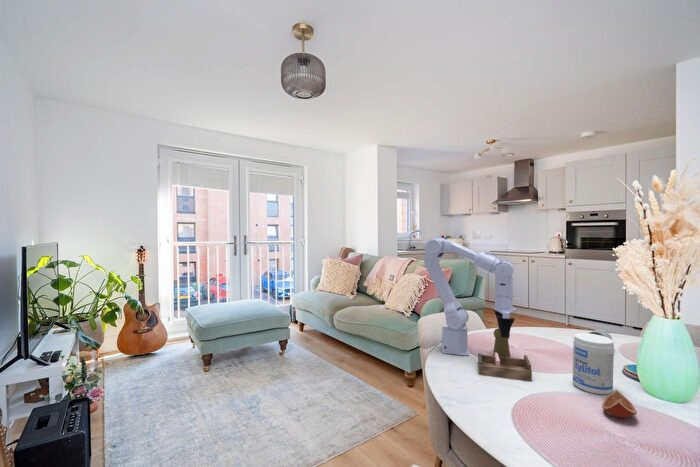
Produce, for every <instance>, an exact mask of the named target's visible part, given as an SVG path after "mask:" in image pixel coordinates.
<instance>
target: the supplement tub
mask: <svg viewBox="0 0 700 467" xmlns="http://www.w3.org/2000/svg"><path fill="white" fill-rule="evenodd" d="M572 346H573V347H572V348H573V352H572V354H573V355H572V383H573V384H574V386H576V387H577V388H578V389H581V391H584V392H588V393H591V394H596V395H609V394H611V393H612V392H614V391H613V390H614V367H615V366H614V360H615V359H614V356H615V345H614V340H613V339H612V340H611V339H610V338H607V337H604V336H601V335H596V334H589V332H579V333H575V334H574V338H573V345H572Z"/></svg>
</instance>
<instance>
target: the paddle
mask: <svg viewBox="0 0 700 467" xmlns="http://www.w3.org/2000/svg"><path fill="white" fill-rule="evenodd" d="M495 366H498V367H500V360H499V356H498V353H495Z"/></svg>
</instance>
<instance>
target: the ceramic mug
mask: <svg viewBox="0 0 700 467" xmlns="http://www.w3.org/2000/svg"><path fill="white" fill-rule="evenodd" d="M588 333H589V334H596V335H601V336H604V337H607V338H610V339H611V340H613V337H612V334H610V333H609V332H608V331H606V330H603V329H593V330H592V331H589V332H588Z"/></svg>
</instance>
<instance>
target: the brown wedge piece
mask: <svg viewBox="0 0 700 467" xmlns="http://www.w3.org/2000/svg"><path fill="white" fill-rule="evenodd" d="M601 408H602V410H604V411H605V412H606V414H608V415H610V416H612V417H614V418H615V417H616V418H621V419H624V418H631V417H633V416H636V415H637V414H638V412H637V410H636V407H635V405H634V404H633V403H632V402H631V401H630V400H628V398H627V397H626V396H625V395H623V394H622V393H621V392H620V391H619V390H618V389H616V390H614V391H612V392H611V393H609V394H607V396H606V397H605V399H604V401H603V403H602V406H601Z"/></svg>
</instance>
